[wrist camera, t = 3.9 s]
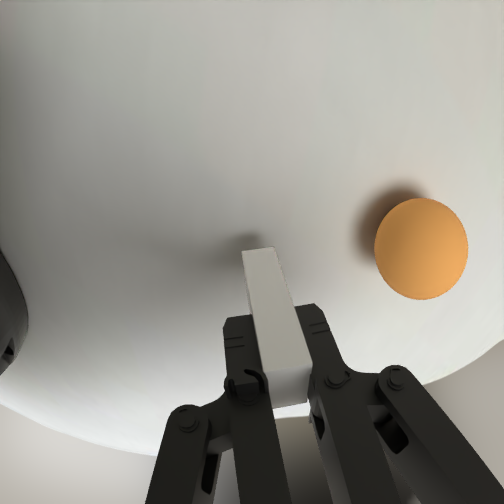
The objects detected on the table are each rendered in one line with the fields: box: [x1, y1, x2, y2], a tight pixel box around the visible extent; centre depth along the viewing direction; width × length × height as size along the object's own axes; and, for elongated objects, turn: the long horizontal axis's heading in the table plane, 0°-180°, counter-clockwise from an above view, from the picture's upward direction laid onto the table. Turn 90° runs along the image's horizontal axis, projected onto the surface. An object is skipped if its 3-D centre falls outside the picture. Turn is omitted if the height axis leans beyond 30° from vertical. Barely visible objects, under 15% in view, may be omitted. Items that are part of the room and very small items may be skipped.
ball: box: [374, 198, 468, 300], centre depth 14 cm, size 6×6×6 cm
